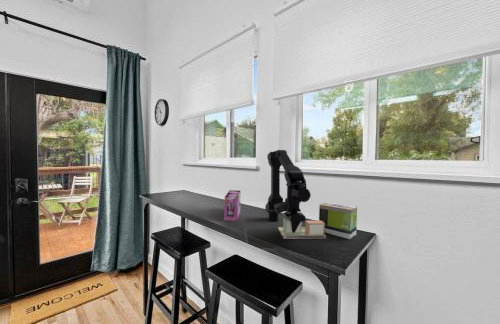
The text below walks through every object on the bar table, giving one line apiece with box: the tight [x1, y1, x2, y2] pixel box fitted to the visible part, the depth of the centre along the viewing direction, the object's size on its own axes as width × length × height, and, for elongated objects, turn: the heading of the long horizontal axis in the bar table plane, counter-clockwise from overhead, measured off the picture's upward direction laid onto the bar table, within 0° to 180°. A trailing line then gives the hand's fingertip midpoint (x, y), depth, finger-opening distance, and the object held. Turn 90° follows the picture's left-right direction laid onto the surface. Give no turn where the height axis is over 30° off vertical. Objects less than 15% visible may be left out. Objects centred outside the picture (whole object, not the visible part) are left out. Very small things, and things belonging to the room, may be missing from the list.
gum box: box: [223, 189, 242, 222], centre depth 136 cm, size 24×8×14 cm, turn 178°
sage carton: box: [282, 216, 303, 234], centre depth 101 cm, size 4×8×6 cm, turn 94°
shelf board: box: [277, 226, 327, 240], centre depth 106 cm, size 15×19×3 cm
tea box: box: [318, 201, 358, 240], centre depth 107 cm, size 15×10×15 cm, turn 48°
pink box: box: [304, 220, 325, 235], centre depth 102 cm, size 4×8×6 cm, turn 94°
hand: (292, 230), depth 101 cm, fingers closed on sage carton, 4 cm apart
